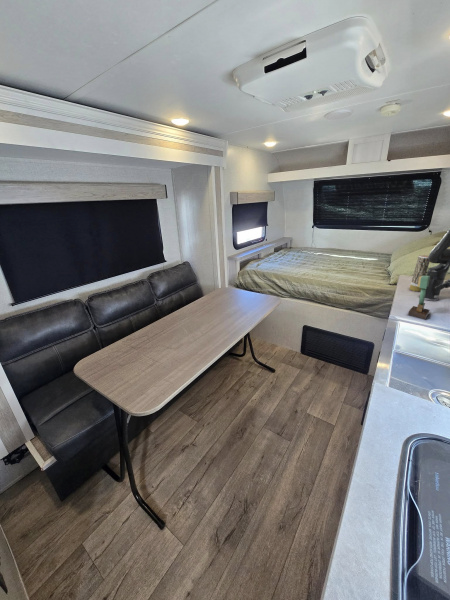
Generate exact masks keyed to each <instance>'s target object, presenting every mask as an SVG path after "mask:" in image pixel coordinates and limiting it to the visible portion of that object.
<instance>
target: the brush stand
mask: <svg viewBox="0 0 450 600" xmlns="http://www.w3.org/2000/svg"><path fill="white" fill-rule="evenodd" d="M425 305H426V303H425V302H424V305H420V304H419V303H418V304H417V306H414V305H413V306H412V307H411V308H409V311H408V314H407V316H410V317H414V318H417V319H420V320H427V317H428V315H430V312H431V311H430V310H431V309H429V308H425Z"/></svg>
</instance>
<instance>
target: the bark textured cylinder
mask: <svg viewBox="0 0 450 600" xmlns="http://www.w3.org/2000/svg"><path fill="white" fill-rule="evenodd" d="M428 257H429V255H427V254H426V255H425V254H420V255H418V257H417V260H416V264H415V267H414V271H413V275H412V278H411V281H410V285H409V291H413V292H421V288H419V287H417V286H418V280H419V277H420V276H426V275H427V273H426V272H428V269H429V265H430V262H429V260H428Z"/></svg>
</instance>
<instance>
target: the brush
mask: <svg viewBox="0 0 450 600" xmlns="http://www.w3.org/2000/svg"><path fill="white" fill-rule="evenodd" d="M429 279H430V276H420V277H419V280H418V286H417V287H419V288H421V291H419V292H420V293H419V299H418V304H420V305H424V303H425V293H426V288H427V287H428V285H429Z"/></svg>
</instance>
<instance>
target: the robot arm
mask: <svg viewBox="0 0 450 600" xmlns="http://www.w3.org/2000/svg"><path fill="white" fill-rule="evenodd" d="M428 256H429V257H428V260H429V263H431V264H436V265H435V266H432V267H428V269H427V272H426V276H430V279H429V285H428V287H427V288H426V293H425V299H424V301H429V302H430V301H431V302H435V301H438V300H439V297H440V294H441V290H443V289H448V288H450V278H448V279H447V280H445V279H446V276H447V273H448V272H449V270H450V227H449V228H448V230H447V231H446V232H445V234H444V235H443V237H442V238H441V239H440V241H439V242H438V243H436V244H435V246H433V248H432V249H431V251H430V252H429V254H428Z"/></svg>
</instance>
